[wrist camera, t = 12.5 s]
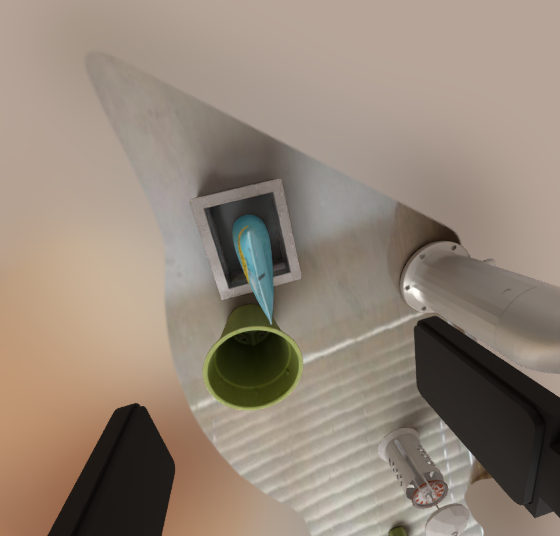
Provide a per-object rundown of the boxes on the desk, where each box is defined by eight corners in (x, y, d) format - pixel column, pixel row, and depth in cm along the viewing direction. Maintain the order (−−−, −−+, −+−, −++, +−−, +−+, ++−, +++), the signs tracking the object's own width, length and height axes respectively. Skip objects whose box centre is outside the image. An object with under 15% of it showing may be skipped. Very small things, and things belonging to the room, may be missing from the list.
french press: (388, 468, 58) (491, 661, 35) (367, 440, 54) (467, 636, 31) (426, 445, 58) (556, 624, 34) (407, 415, 54) (539, 594, 30)
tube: (223, 212, 35) (212, 243, 17) (257, 201, 36) (280, 220, 18) (242, 261, 38) (248, 332, 20) (273, 251, 38) (307, 312, 20)
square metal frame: (273, 179, 35) (281, 178, 29) (291, 263, 39) (301, 278, 33) (197, 197, 34) (188, 200, 28) (224, 281, 38) (221, 300, 32)
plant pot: (291, 290, 41) (310, 328, 30) (280, 355, 44) (295, 409, 34) (213, 285, 38) (205, 325, 28) (208, 354, 42) (200, 412, 31)
